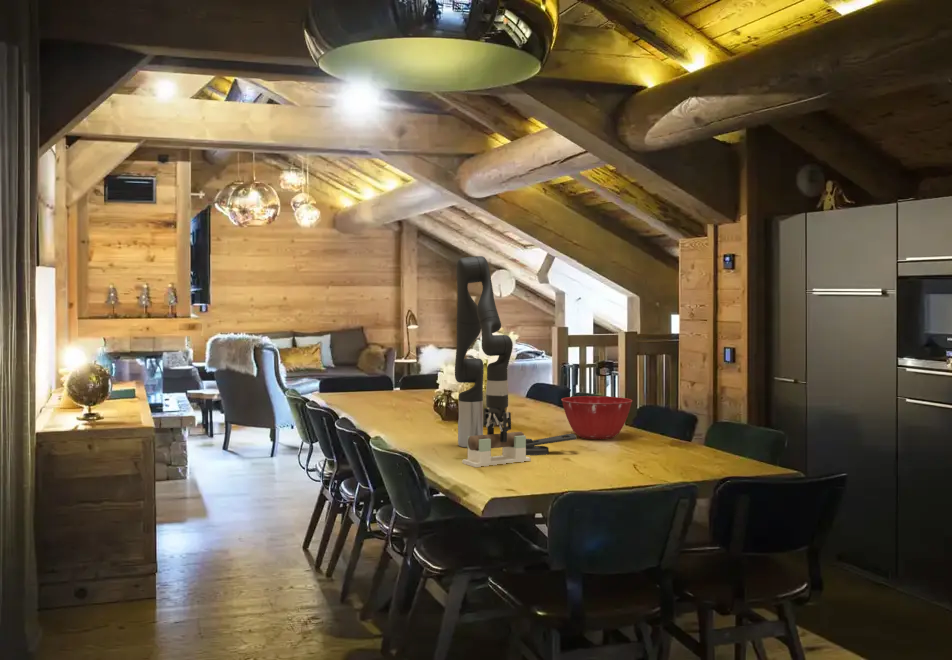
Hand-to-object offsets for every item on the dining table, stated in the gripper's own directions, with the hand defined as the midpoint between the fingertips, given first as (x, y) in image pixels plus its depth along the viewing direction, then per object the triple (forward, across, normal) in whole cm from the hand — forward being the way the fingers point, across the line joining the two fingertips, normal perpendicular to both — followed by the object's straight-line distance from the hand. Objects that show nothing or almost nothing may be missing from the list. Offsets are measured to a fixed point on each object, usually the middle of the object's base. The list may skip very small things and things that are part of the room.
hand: (497, 440), depth 316 cm
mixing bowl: (+8, -28, +64) cm, 70 cm away
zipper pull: (+8, -7, +23) cm, 26 cm away
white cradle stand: (+8, 0, 0) cm, 8 cm away
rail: (+3, 0, 0) cm, 3 cm away
